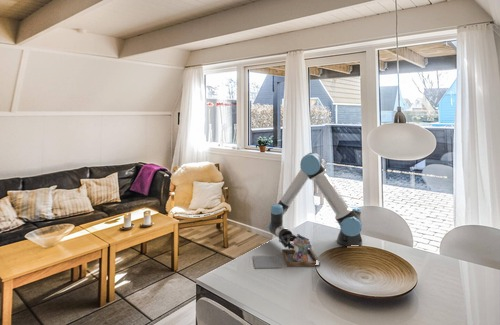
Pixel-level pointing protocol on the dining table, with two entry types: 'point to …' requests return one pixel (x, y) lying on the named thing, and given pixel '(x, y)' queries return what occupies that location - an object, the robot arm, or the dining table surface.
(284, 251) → the frame
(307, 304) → the dining table surface
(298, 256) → the mug
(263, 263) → the mat
